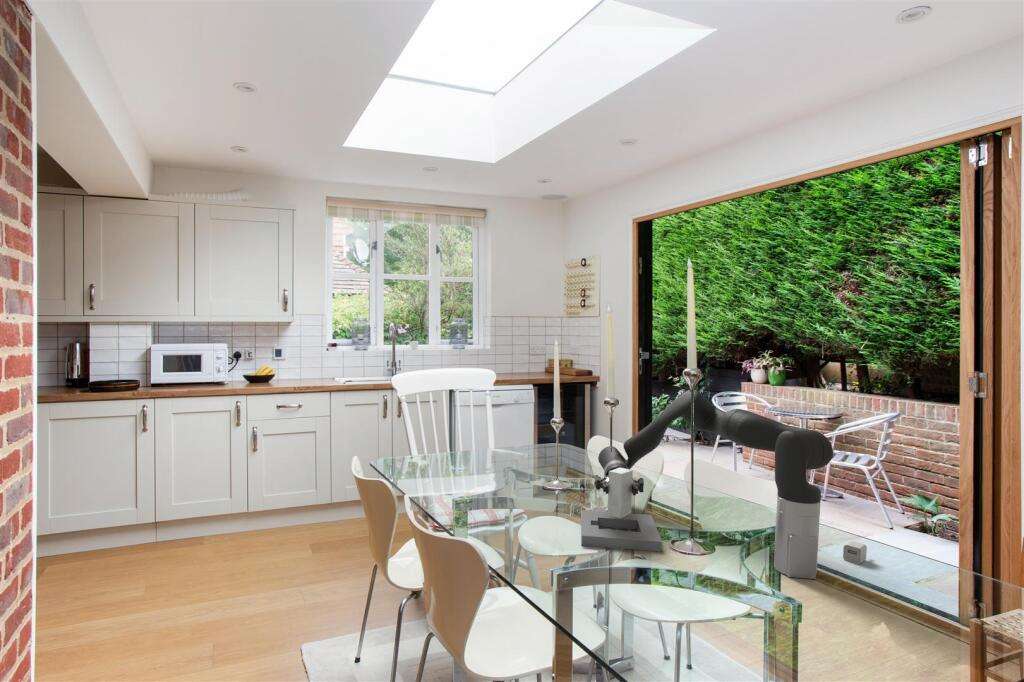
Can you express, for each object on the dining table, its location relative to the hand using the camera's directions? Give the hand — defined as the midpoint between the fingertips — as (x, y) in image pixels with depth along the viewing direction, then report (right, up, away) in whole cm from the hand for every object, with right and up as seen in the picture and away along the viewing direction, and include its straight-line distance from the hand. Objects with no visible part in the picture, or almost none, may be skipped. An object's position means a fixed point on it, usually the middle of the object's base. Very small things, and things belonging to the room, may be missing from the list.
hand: (620, 490), depth 164 cm
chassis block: (0, -12, +3) cm, 12 cm away
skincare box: (0, -7, +3) cm, 8 cm away
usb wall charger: (+57, -15, -9) cm, 60 cm away
